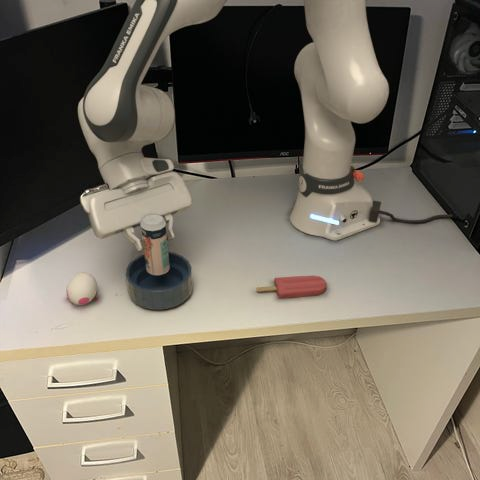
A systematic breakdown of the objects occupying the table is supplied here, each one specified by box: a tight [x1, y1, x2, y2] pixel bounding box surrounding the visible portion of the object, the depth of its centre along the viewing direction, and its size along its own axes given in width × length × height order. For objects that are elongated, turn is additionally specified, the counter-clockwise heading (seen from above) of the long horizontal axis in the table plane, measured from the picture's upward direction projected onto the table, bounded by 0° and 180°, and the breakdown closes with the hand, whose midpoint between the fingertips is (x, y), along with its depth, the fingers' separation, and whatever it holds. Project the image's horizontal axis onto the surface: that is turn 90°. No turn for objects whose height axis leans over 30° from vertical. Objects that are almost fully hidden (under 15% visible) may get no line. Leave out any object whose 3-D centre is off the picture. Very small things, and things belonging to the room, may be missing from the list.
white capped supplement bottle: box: [139, 213, 170, 275], centre depth 100 cm, size 5×5×12 cm
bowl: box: [125, 251, 193, 310], centre depth 107 cm, size 13×13×6 cm
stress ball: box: [65, 272, 99, 306], centre depth 105 cm, size 8×8×7 cm
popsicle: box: [256, 275, 328, 299], centre depth 109 cm, size 5×2×15 cm
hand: (157, 244), depth 100 cm, fingers closed on white capped supplement bottle, 5 cm apart
